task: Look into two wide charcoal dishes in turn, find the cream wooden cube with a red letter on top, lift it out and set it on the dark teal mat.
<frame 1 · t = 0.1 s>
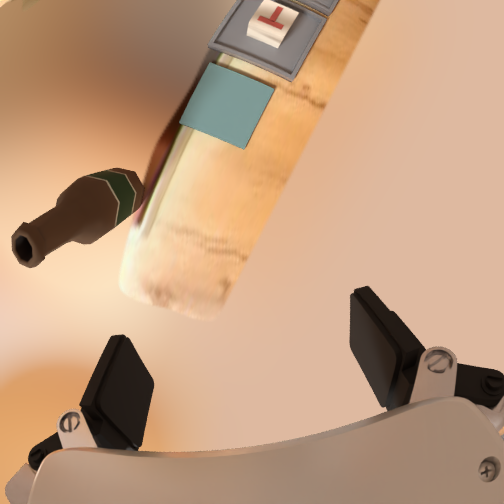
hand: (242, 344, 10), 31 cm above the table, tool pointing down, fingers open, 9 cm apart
beer bottle: (123, 191, 38), on the table
letter cube: (269, 30, 30), resting on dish
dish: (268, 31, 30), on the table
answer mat: (226, 105, 34), on the table
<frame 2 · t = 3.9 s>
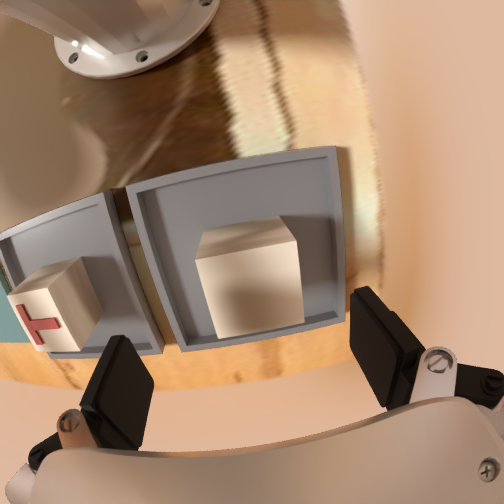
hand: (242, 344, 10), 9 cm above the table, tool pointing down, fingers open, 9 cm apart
letter cube: (70, 289, 19), resting on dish
plain cube: (247, 257, 19), resting on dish
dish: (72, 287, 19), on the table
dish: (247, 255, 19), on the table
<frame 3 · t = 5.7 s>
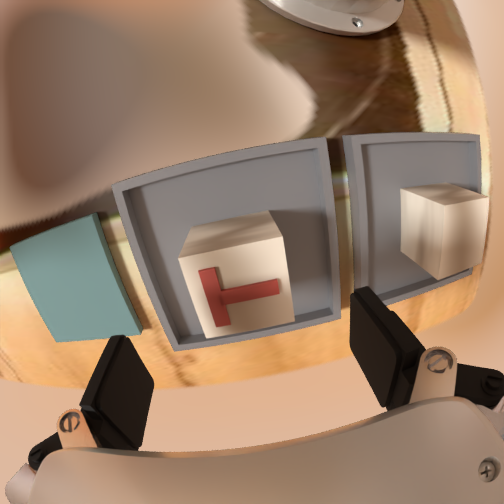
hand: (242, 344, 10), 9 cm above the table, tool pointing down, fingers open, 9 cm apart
letter cube: (237, 253, 18), resting on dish
plain cube: (424, 215, 18), resting on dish
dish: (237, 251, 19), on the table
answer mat: (71, 285, 19), on the table
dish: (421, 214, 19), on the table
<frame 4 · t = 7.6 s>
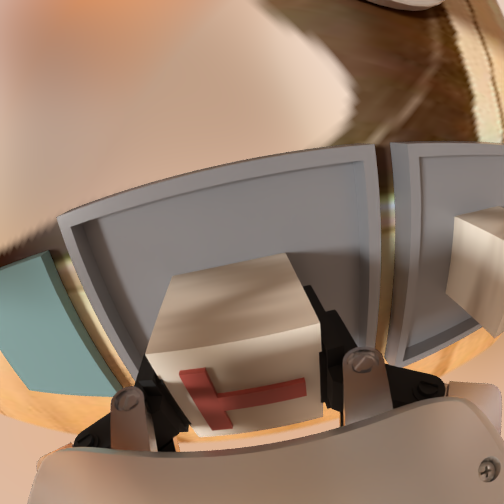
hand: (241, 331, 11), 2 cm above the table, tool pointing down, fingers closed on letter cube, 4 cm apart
letter cube: (239, 311, 13), resting on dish, touching gripper
plain cube: (475, 248, 13), resting on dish
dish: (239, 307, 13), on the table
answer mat: (34, 334, 13), on the table
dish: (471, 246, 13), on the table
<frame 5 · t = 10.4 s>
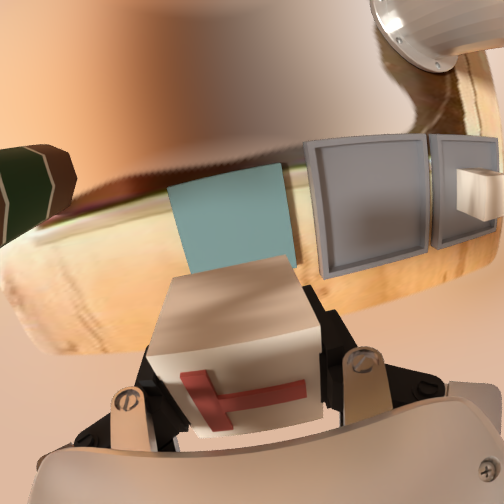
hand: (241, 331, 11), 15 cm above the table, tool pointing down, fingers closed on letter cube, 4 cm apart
beer bottle: (52, 180, 22), on the table
letter cube: (240, 313, 13), point 13 cm above the table, touching gripper
plain cube: (468, 187, 25), resting on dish
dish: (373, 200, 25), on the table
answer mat: (234, 226, 25), on the table
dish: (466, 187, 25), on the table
when the fingers open (3 cm above the table, at t = 13.2 s): letter cube drops 1 cm, resting on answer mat.
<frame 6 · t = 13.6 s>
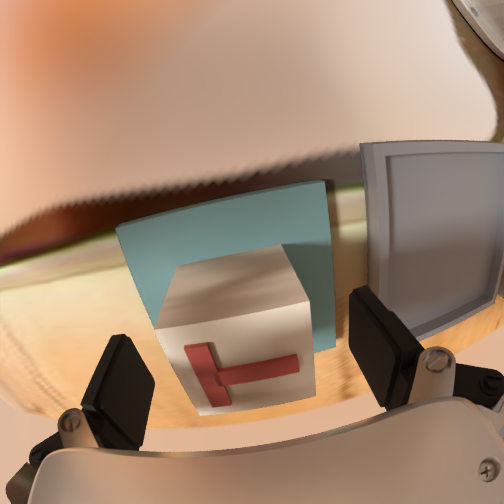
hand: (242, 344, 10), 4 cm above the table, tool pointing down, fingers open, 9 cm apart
letter cube: (239, 299, 14), point 1 cm above the table, touching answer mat
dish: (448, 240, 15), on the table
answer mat: (238, 291, 14), on the table
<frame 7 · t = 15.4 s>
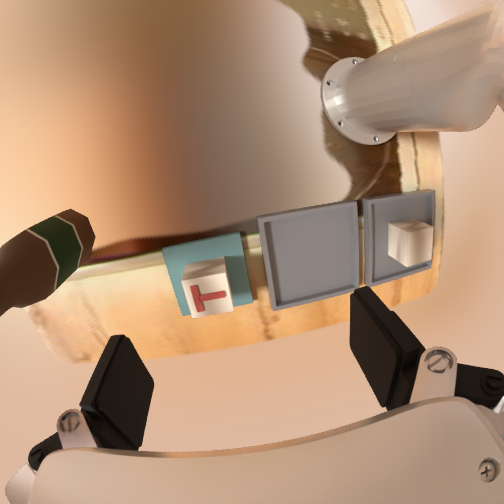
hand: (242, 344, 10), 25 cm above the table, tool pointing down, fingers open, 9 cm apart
beer bottle: (74, 234, 32), on the table
letter cube: (208, 277, 35), point 1 cm above the table, touching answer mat
plain cube: (401, 236, 37), resting on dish
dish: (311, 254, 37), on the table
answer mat: (208, 275, 36), on the table
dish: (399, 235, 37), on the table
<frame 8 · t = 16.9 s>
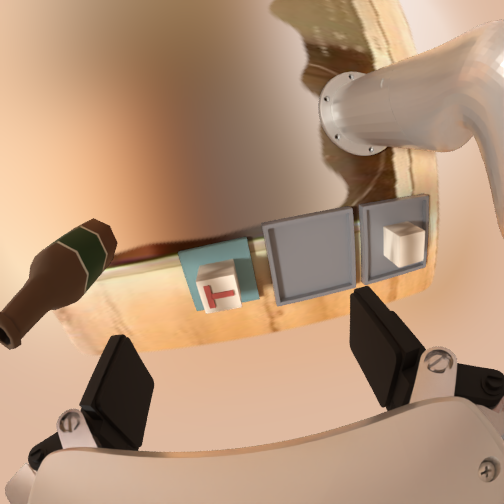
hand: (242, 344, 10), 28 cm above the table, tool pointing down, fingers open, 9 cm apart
beer bottle: (97, 241, 37), on the table
letter cube: (220, 277, 40), point 1 cm above the table, touching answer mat
plain cube: (395, 238, 40), resting on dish
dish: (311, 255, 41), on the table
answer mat: (220, 274, 41), on the table
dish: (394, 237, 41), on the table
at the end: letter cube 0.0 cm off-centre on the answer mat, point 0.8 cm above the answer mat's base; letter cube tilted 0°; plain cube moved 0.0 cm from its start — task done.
